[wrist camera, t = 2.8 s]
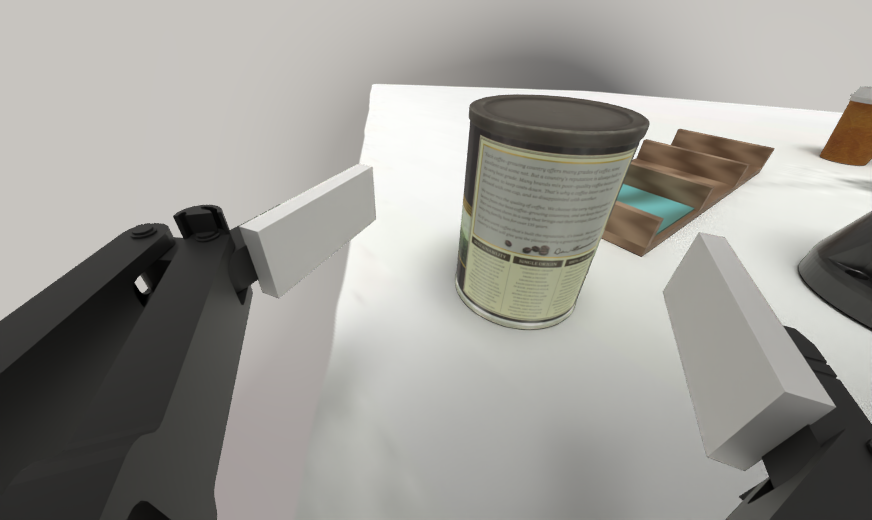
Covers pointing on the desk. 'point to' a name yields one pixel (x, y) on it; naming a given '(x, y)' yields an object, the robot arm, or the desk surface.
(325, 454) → the desk surface
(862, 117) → the disposable coffee cup
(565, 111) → the coffee can
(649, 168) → the slot rack
